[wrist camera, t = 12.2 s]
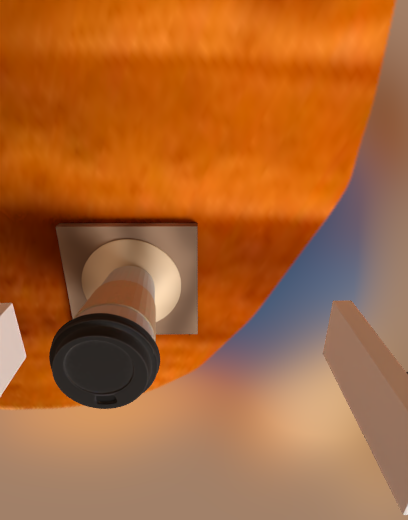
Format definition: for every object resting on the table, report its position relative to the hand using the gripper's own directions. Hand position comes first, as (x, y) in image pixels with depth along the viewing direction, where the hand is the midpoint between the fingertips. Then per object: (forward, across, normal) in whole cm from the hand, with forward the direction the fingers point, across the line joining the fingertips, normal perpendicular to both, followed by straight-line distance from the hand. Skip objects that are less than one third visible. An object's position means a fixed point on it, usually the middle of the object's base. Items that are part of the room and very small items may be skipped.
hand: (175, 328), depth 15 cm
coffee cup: (+25, -7, -12) cm, 29 cm away
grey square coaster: (+27, -7, -12) cm, 30 cm away
